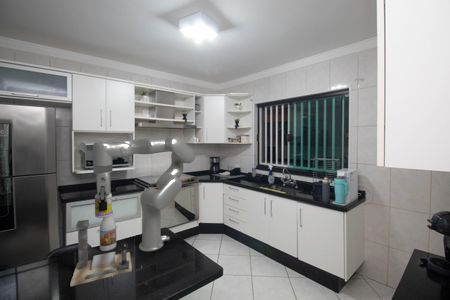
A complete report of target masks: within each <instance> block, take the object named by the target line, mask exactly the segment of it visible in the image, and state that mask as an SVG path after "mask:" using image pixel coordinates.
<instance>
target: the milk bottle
mask: <svg viewBox="0 0 450 300" xmlns="http://www.w3.org/2000/svg"><path fill="white" fill-rule="evenodd" d="M113 215H114V214H113V210H112V214H111V215H110V216H108V217H105V218H102V221H101V222H100V225H99V250H100V251H102V252H107V251H108V252H109V251H111V250H114V249H115V248H116V247H117V224H116V221H115V219H114V218H113V217H114V216H113Z"/></svg>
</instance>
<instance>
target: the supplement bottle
mask: <svg viewBox="0 0 450 300" xmlns="http://www.w3.org/2000/svg"><path fill="white" fill-rule="evenodd" d="M104 190H105V187H104ZM105 194H106V193H105ZM100 195H101V194H100ZM104 197H105V196H104ZM112 202H113V196H112V192H110V195H108V194H107V210H106V211H99V196H98V195H97V193H96V194H95V196H94V216H95V217H96V218H98V219H103V218H105V217H108V216H110V215H111V214H112V211H113V208H112V207H113V204H112Z"/></svg>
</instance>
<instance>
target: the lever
mask: <svg viewBox="0 0 450 300" xmlns="http://www.w3.org/2000/svg"><path fill="white" fill-rule="evenodd" d="M128 248H129V244H128V243H127V242H122V243H121V244H120V246H119V249H120V250H121V251H120V254H121V262H120V263H119V269H123V268H127V267H129V260H128V261H127V250H128Z"/></svg>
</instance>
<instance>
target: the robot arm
mask: <svg viewBox="0 0 450 300" xmlns="http://www.w3.org/2000/svg"><path fill="white" fill-rule="evenodd" d="M167 152H171V153H170V158H171V163H170V166H169V167H168V168H167V169H166V171H165V172H163V173H162V175H161V176H159V178H158V179H157V181H156V183H155V185H156V187H157V189H156V188H153V187H149V188H146V189H144V190H143V191H142V192H141V194H140V197H139V198H140V200H139V201H140V206H141V226H142V227H141V232H142V233H141V242H140V243H139V245H138V248H139V250H141V252H154V251H157V250H159V249H161V248H162V247H164V242H166V241H169V240H170V236H167V235H162V234H161V223H162V222H161V220H162V219H161V218H162V217H161V213H162V212H161V211H162V210H164V209H166V208H167V207H168V206H169V205H170V204H171V202H172V201H173V200H174V199H175V198H176V197H177V196H178V195H179V193H180V192H181V190H182V186H183V182H182V180H181V179H180V178H181V176H182V175H183V173H184V164H191V163H193V162H194V161H195V159H196V155H195V152H194V150H193V149H192V148H191V147H190V146H189V145H187V144H186V143H185V141H184V140H182V139H181V138H179V137H177V136H160V137H150V138H149V137H147V138H139V139H130V140H117V141H112V142H109V141H103V142H102V141H97V142H94V143H93V144H92V164H93V165H92V171H93V172H92V173H93V174H95V176H96V192H97V193H96V194H97V195H98V196H99V211H106V210H107V194H108V195H110V193H112V192H111V191H112V190H111V189H112V187H111V173H113V158H121V159H123V158H127V157H129V156H131V155H153V154H160V153H167ZM104 187H105V190H104ZM105 193H106V194H105ZM100 194H101V195H100ZM104 196H105V197H104Z"/></svg>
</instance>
